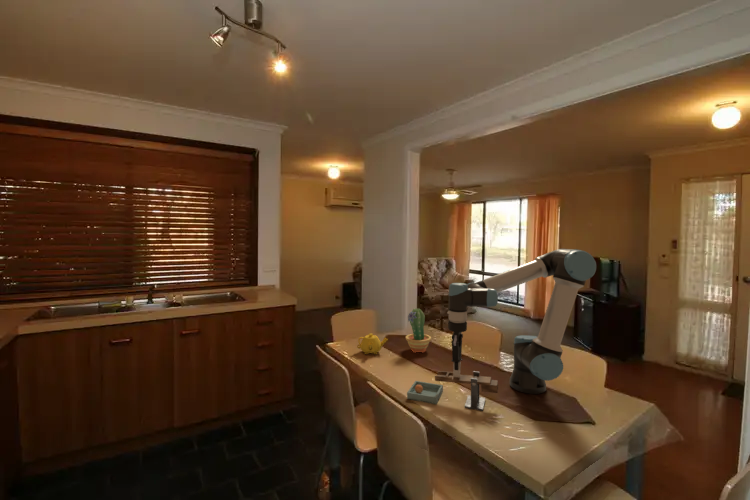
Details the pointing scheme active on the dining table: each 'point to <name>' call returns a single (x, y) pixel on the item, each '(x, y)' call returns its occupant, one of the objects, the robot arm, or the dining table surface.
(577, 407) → the dining table surface
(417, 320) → the potted cactus
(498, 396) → the dining table surface
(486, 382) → the lever
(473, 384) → the stand
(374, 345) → the teapot
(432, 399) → the dish
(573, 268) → the robot arm
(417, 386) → the ball
